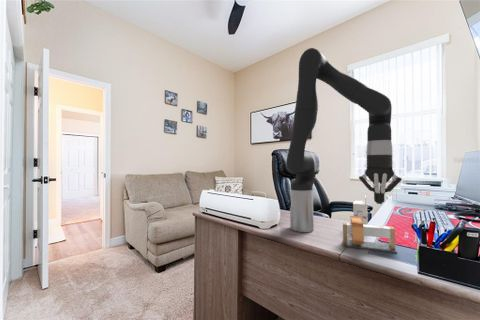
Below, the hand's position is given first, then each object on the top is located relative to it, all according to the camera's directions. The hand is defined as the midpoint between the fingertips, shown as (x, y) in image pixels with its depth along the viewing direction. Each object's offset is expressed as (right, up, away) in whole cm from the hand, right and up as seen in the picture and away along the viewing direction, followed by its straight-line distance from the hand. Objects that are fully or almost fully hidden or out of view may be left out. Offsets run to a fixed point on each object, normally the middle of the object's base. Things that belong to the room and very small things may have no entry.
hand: (379, 203), depth 73 cm
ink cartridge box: (+3, -15, +16) cm, 22 cm away
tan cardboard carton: (-8, -12, -1) cm, 15 cm away
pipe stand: (-5, -14, -2) cm, 15 cm away
